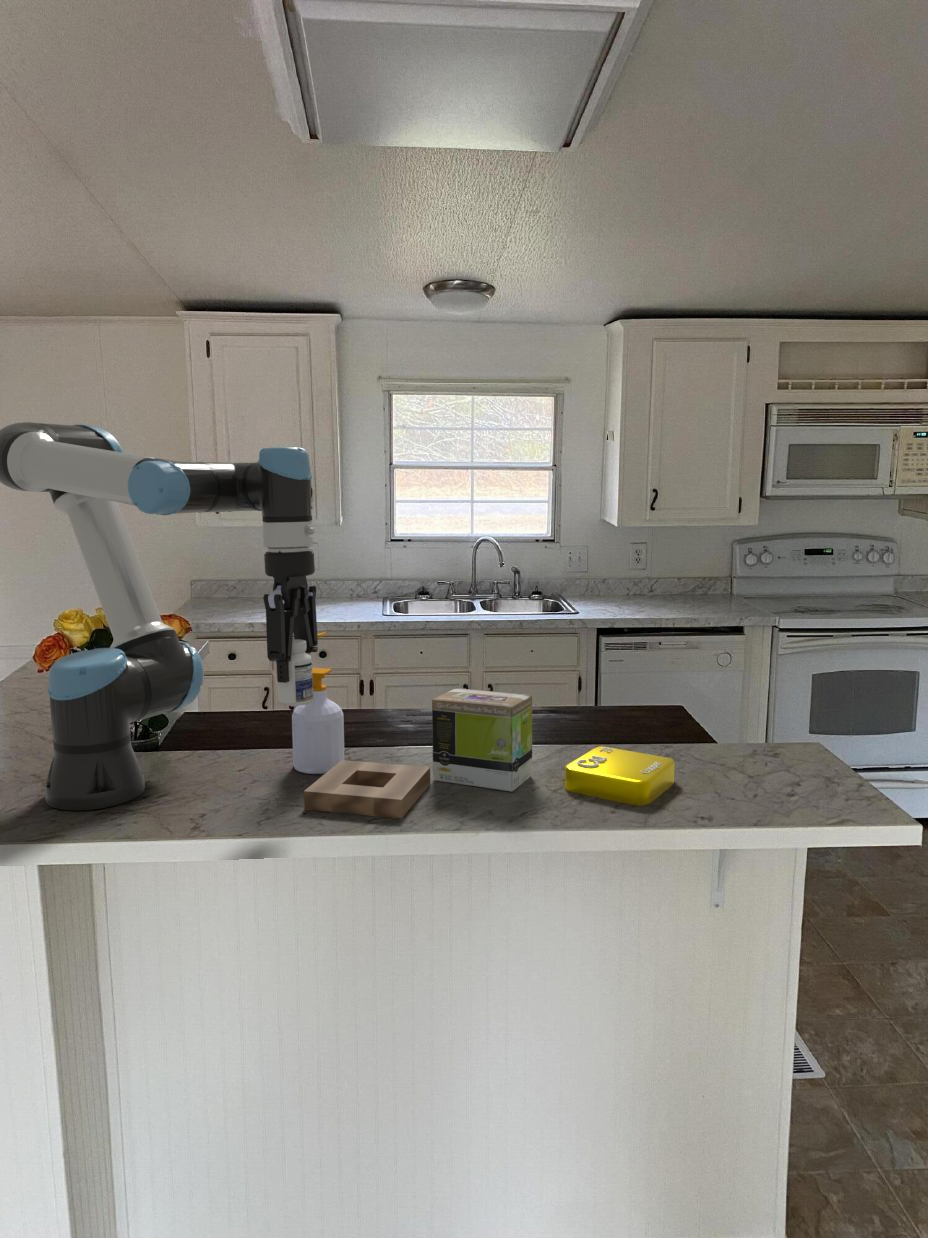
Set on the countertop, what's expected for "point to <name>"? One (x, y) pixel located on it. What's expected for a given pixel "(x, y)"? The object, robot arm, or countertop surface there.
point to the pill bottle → (302, 674)
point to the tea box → (482, 738)
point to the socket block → (368, 789)
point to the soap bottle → (318, 730)
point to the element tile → (620, 775)
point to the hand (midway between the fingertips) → (295, 697)
